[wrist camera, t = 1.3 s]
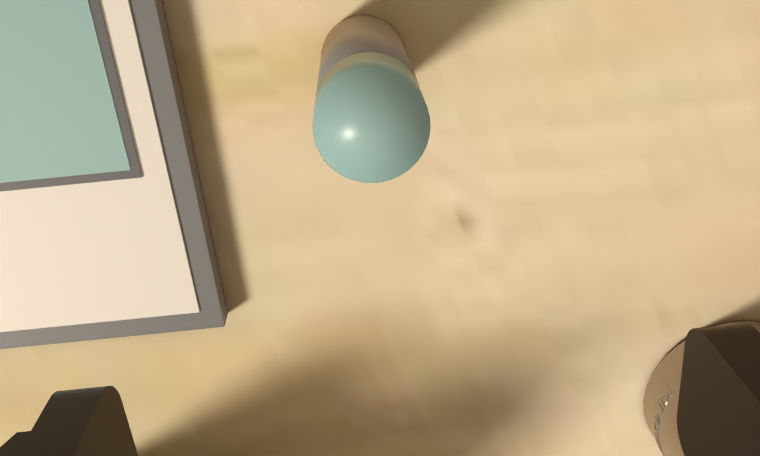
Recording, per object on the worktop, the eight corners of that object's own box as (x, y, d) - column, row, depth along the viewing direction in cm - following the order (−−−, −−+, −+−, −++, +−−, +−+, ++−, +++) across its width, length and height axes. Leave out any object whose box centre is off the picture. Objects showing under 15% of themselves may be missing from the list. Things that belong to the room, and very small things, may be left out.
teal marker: (402, 11, 30) (426, 63, 21) (408, 94, 32) (433, 176, 23) (316, 19, 30) (305, 75, 21) (326, 102, 32) (320, 188, 23)
